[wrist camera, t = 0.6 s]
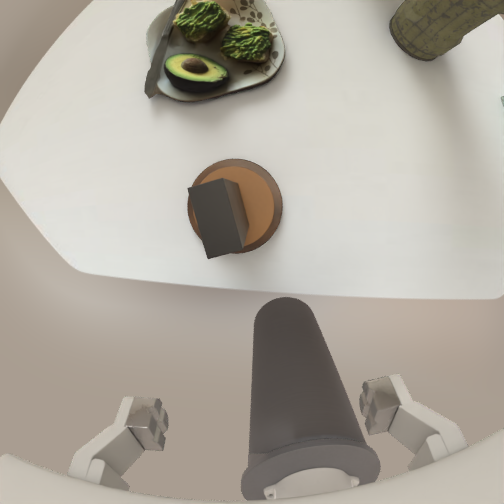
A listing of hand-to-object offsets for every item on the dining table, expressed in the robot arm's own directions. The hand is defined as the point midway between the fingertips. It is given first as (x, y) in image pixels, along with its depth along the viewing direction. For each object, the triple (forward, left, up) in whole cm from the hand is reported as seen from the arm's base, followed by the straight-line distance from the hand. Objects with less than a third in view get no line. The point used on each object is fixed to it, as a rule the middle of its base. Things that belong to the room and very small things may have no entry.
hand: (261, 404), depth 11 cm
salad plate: (+27, +5, -27) cm, 38 cm away
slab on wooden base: (+6, +3, -25) cm, 26 cm away
